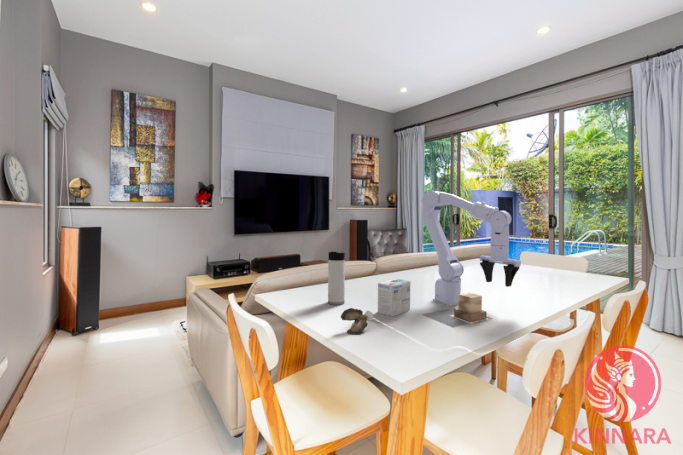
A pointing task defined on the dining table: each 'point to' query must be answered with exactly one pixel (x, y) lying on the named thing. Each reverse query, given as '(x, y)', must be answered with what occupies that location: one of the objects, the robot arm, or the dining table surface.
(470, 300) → the oak cube
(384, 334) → the dining table surface
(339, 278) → the travel mug
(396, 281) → the light bulb box
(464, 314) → the walnut slab
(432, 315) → the mat
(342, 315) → the eagle figurine
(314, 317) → the dining table surface
